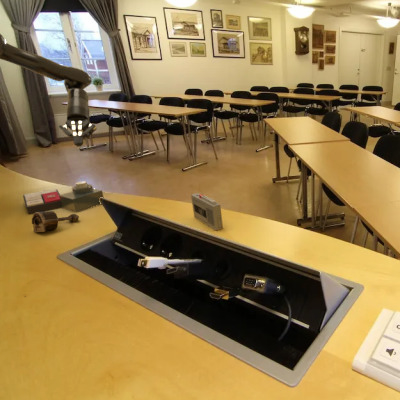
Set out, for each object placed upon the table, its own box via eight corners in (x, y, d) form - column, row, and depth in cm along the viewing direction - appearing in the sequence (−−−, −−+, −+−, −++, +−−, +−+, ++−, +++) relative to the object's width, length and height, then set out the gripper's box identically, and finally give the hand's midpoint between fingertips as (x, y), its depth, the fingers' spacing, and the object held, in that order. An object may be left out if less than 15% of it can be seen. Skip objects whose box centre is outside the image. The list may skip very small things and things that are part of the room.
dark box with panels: (25, 205, 118) (22, 193, 128) (29, 216, 120) (25, 203, 129) (62, 198, 125) (56, 187, 135) (65, 208, 127) (59, 196, 137)
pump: (80, 189, 125) (78, 184, 124) (74, 188, 126) (73, 183, 126) (89, 186, 128) (88, 182, 127) (84, 185, 129) (83, 180, 129)
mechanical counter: (25, 213, 108) (25, 216, 100) (70, 200, 115) (73, 202, 108) (35, 233, 110) (35, 237, 102) (79, 219, 117) (82, 222, 110)
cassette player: (194, 217, 119) (190, 192, 115) (201, 215, 121) (197, 190, 117) (215, 230, 109) (212, 203, 106) (223, 228, 111) (220, 201, 107)
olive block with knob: (76, 212, 122) (70, 194, 119) (62, 208, 125) (57, 190, 123) (105, 203, 131) (100, 185, 128) (91, 199, 135) (87, 182, 132)
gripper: (55, 105, 130) (54, 141, 124) (93, 104, 135) (94, 139, 129) (63, 117, 136) (62, 151, 130) (99, 116, 141) (100, 149, 135)
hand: (78, 145), depth 130 cm, fingers closed
